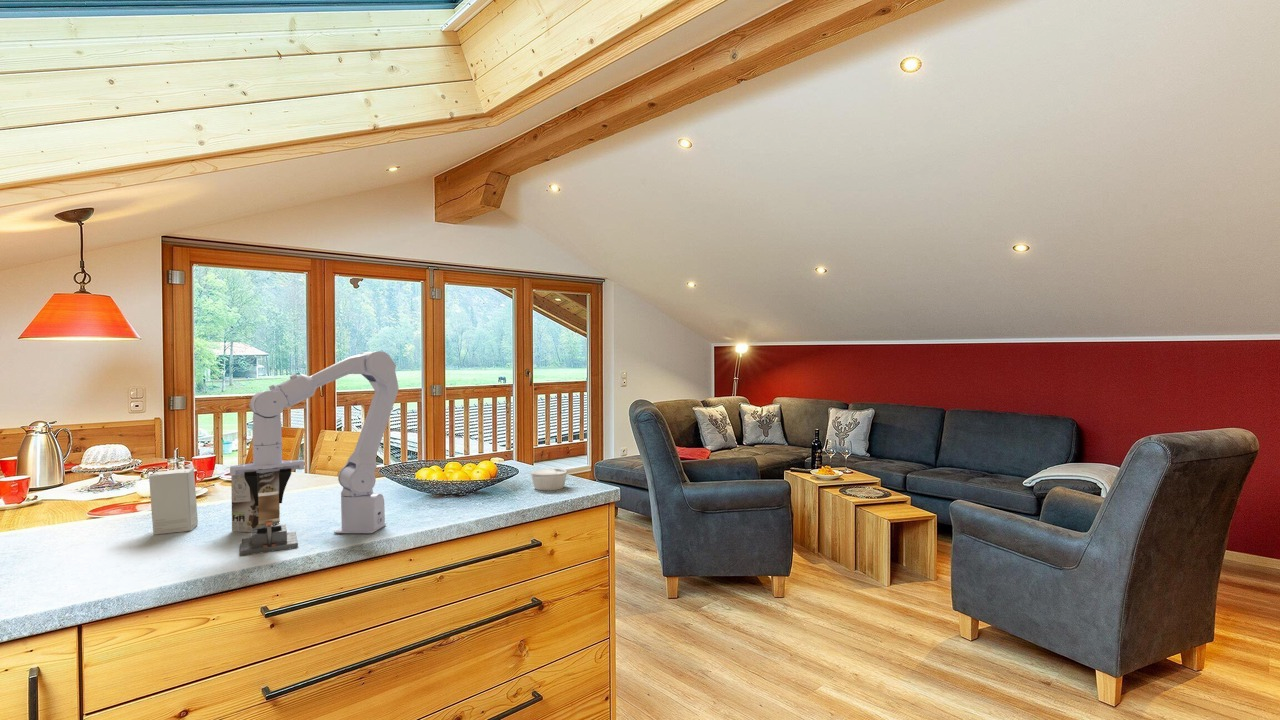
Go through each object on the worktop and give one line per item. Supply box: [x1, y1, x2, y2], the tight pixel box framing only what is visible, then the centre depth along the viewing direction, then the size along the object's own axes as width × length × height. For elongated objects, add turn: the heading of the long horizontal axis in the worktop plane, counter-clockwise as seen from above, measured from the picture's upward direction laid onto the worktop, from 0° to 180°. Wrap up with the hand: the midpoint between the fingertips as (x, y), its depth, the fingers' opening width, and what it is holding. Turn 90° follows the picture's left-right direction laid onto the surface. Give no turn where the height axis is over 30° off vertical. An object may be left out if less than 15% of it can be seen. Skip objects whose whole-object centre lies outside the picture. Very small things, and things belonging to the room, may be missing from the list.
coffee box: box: [230, 461, 281, 533], centre depth 163 cm, size 9×6×16 cm
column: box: [258, 491, 281, 524], centre depth 147 cm, size 4×4×6 cm
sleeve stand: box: [239, 521, 299, 556], centre depth 147 cm, size 11×11×6 cm
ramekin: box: [530, 468, 568, 492], centre depth 206 cm, size 11×11×5 cm
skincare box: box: [148, 467, 199, 535], centre depth 161 cm, size 8×6×15 cm
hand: (268, 503), depth 147 cm, fingers closed on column, 4 cm apart
